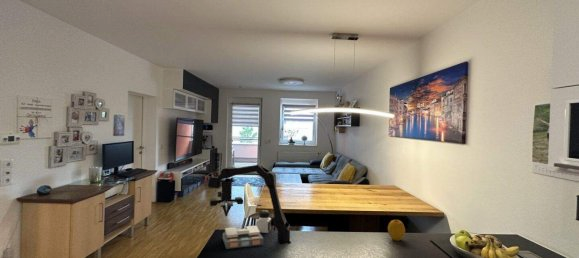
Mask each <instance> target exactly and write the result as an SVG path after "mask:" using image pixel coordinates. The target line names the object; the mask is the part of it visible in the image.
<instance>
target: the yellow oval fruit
mask: <svg viewBox="0 0 579 258" xmlns="http://www.w3.org/2000/svg"><path fill="white" fill-rule="evenodd" d="M387 232H388V235H389V237H391V238H390V239H392V240H394V241H397V242H398V241H401V240H402V239H403V238H404V237H405V233H406V227H405V225H404V223H403V222H402V221H401V220H399V219H393V220H390V222H389V223H388V225H387Z"/></svg>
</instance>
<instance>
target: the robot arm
mask: <svg viewBox="0 0 579 258" xmlns="http://www.w3.org/2000/svg"><path fill="white" fill-rule="evenodd" d="M251 173H257V175H259V176H260V177H261V178H262V179H263V180H264V183H265V186H266V188H267V189H268V191H269V196H270V201H271V204H272V209H273V213H274V214H273V216H272V217H271V221H272V224H273V226H274V228H275V229H277V233H276V242H277V243H278V244H279V245H283V244H290V243H291V240H290V239H291V235H290V234H291V231H290V227H291V224H289V223H288V221H287V218H286V216H285V214H284V212H283V211H282V207H281V203H280V197H279V194H278V190H277V174H276V173H275V172H274V171H273V170H272V171H271V170H269V169H268V168H266V167H264V166H263V165H261V164H259V163H258V164H253V165H248V166H247V165H246V166H239V167H235V166H228V167H225V168H222V169H221V171H220V174H219V175H218V176H210V177H209V179H208V183H207V187H208V189H215V190H219V189H220V188H221V191H217V198H220V199H217V198H210V199H209V202H208V203H209V206H210V207H213V206H214V207H215V206H217V205H218V204H219V206H220V207H221V208H222V209H223V213H224V216H225V217H228V214H229V212H230V210H231V208H232V207H233V206H234V204H235V203H236V204H237V205H243V204H244V199H243V198H242V197H241V196H236V197H235V198H232V196H233V195H232V194H233V193H232V192H233V191H232V190H233V186H232V185H233V183H235V182H236V179H235V178H234V177H235V176H238V175H243V174H244V175H245V174H251Z"/></svg>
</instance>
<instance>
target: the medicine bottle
mask: <svg viewBox="0 0 579 258" xmlns="http://www.w3.org/2000/svg"><path fill="white" fill-rule="evenodd" d="M256 226H257V228H258V229H259V231H260V233H262V234H264V233H265V234H269V232H270V231H271V230H272V217H270V212H269V211H268V210H260V211H259V218H258V219H257V220H256Z"/></svg>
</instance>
